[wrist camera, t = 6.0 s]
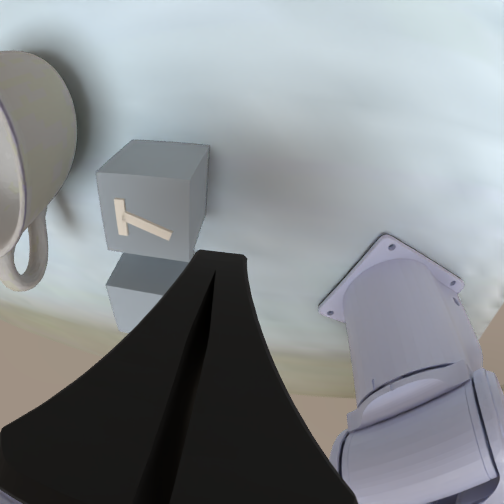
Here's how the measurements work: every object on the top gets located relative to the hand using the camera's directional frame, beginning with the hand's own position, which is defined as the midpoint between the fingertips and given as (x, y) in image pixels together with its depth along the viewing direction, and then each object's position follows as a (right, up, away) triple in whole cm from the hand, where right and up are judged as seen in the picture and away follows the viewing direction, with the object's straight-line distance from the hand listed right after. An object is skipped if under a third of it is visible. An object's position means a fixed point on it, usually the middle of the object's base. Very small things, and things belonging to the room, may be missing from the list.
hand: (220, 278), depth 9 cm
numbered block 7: (-4, +5, +9) cm, 11 cm away
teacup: (-13, +8, +7) cm, 17 cm away
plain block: (-5, 0, +13) cm, 14 cm away
